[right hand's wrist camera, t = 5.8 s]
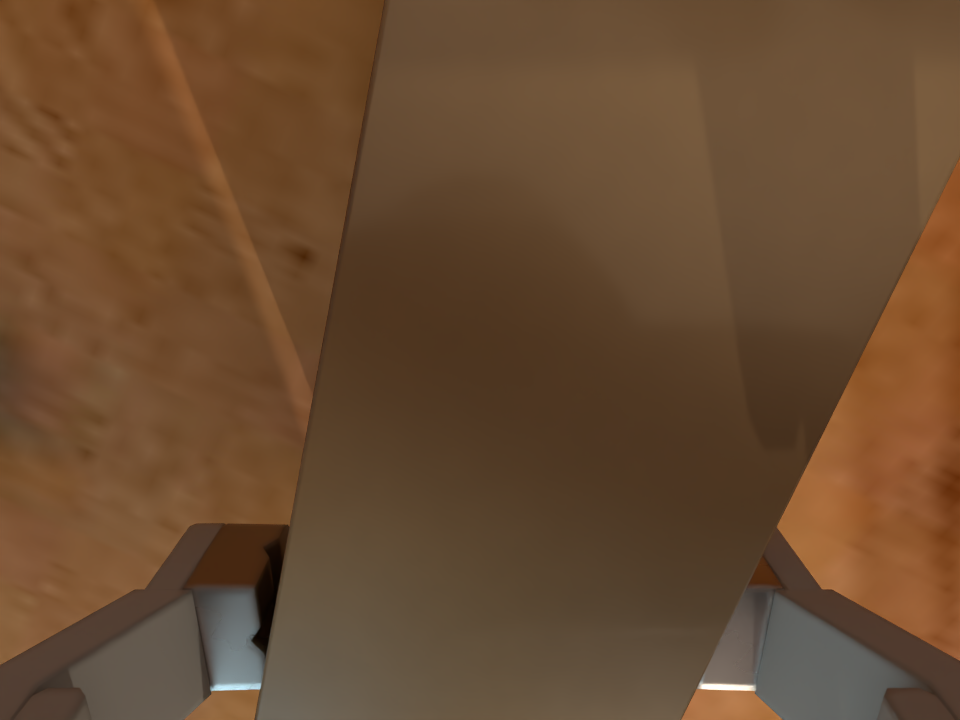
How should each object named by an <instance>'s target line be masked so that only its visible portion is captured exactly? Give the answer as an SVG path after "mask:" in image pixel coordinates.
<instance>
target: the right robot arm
mask: <svg viewBox="0 0 960 720" xmlns="http://www.w3.org/2000/svg"><path fill="white" fill-rule="evenodd" d="M288 532H289V526H288V525H273V524H224V523H197V524H194V525H192V526H190V527H189V528H188V529H187V531H186V532H185V533H184V535H183V536H182V538H181V539H180V540H179V542H178V543H177V545H176V546H175V548H174V549H173V550H172V552H171V553H170V555H169V556H168V557H167V559H166V560H165V562H164V563H163V564H162V566H161V567H160V569H159V570H158V572H157V573H156V574H155V576H154V577H153V579H152V580H151V581H150V583H149V584H148V586H147V587H146V588H145V590H133V591H132V592H130V593H128V594H126V595H124V596H123V597H121V598H119V599H117V600H116V601H114V602H112V603H110V604H108V605H107V606H105V607H103V608H101V609H99V610H98V611H96V612H94V613H92V614H91V615H89V616H87V617H85V618H83V619H82V620H80V621H78V622H76V623H75V624H73V625H71V626H69V627H67V628H66V629H64V630H62V631H60V632H59V633H57V634H55V635H53V636H51V637H50V638H48V639H46V640H44V641H43V642H41V643H39V644H37V645H35V646H34V647H32V648H30V649H28V650H26V651H25V652H23V653H21V654H19V655H18V656H16V657H14V658H12V659H10V660H9V661H7V662H5V663H3V664H2V665H0V720H184V719H185V718H186V717H187V716H188V715H189V714H190V713H191V712H193V711H194V710H195V709H196V708H197V707H198V706H199V705H200V704H201V703H202V702H203V701H204V700H205V699H206V698H207V697H209V696H210V695H211V691H215V690H250V689H260V687H261V681H262V676H263V670H264V664H265V659H266V653H267V648H268V642H269V637H270V631H271V626H272V620H273V615H274V609H275V604H276V598H277V593H278V587H279V582H280V576H281V571H282V565H283V559H284V554H285V548H286V543H287V537H288ZM697 689H715V690H751V691H755V694H756V695H757V696H758V697H759V698H760V699H761V700H762V701H764V702H765V703H766V704H767V705H768V706H769V707H770V708H771V709H772V710H773V711H774V712H775V713H776V714H778V715H779V716H780V717H781V718H782V719H783V720H960V661H959V660H957V659H955V658H953V657H952V656H950V655H948V654H946V653H945V652H943V651H941V650H939V649H937V648H936V647H934V646H932V645H930V644H928V643H927V642H925V641H923V640H921V639H919V638H918V637H916V636H914V635H912V634H910V633H909V632H907V631H905V630H903V629H902V628H900V627H898V626H896V625H894V624H893V623H891V622H889V621H887V620H885V619H884V618H882V617H880V616H878V615H876V614H875V613H873V612H871V611H869V610H867V609H866V608H864V607H862V606H860V605H859V604H857V603H855V602H853V601H851V600H850V599H848V598H846V597H844V596H842V595H841V594H839V593H837V592H835V591H833V590H822V589H821V588H820V586H819V585H818V583H817V582H816V581H815V579H814V578H813V577H812V575H811V574H810V572H809V571H808V570H807V568H806V567H805V566H804V564H803V563H802V561H801V560H800V559H799V557H798V556H797V555H796V553H795V552H794V550H793V549H792V548H791V546H790V545H789V544H788V542H787V541H786V540H785V538H784V537H783V535H782V534H781V533H780V531H779V530H778V529H777V527H776V529H775V531H774V533H773V535H772V537H771V539H770V541H769V543H768V545H767V547H766V549H765V551H764V553H763V555H762V557H761V559H760V561H759V563H758V565H757V568H756V570H755V572H754V574H753V576H752V578H751V580H750V582H749V584H748V586H747V588H746V590H745V592H744V594H743V596H742V598H741V600H740V602H739V604H738V606H737V608H736V610H735V612H734V614H733V616H732V618H731V620H730V622H729V624H728V626H727V628H726V630H725V632H724V634H723V636H722V638H721V640H720V642H719V644H718V646H717V648H716V650H715V652H714V654H713V656H712V658H711V660H710V662H709V664H708V666H707V668H706V671H705V673H704V675H703V677H702V679H701V681H700V683H699V685H698V687H697Z"/></svg>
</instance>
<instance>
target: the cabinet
mask: <svg viewBox="0 0 960 720" xmlns="http://www.w3.org/2000/svg"><path fill="white" fill-rule="evenodd" d="M959 157H960V0H385V1H384V7H383V12H382V18H381V23H380V29H379V34H378V40H377V45H376V51H375V57H374V62H373V68H372V73H371V79H370V84H369V90H368V95H367V101H366V106H365V112H364V117H363V123H362V128H361V134H360V139H359V145H358V150H357V156H356V162H355V167H354V173H353V178H352V184H351V189H350V195H349V200H348V206H347V211H346V217H345V222H344V228H343V233H342V239H341V244H340V250H339V255H338V261H337V267H336V272H335V278H334V283H333V289H332V294H331V300H330V305H329V311H328V316H327V322H326V327H325V333H324V338H323V344H322V349H321V355H320V360H319V366H318V372H317V377H316V383H315V388H314V394H313V399H312V405H311V410H310V416H309V421H308V427H307V432H306V438H305V443H304V449H303V454H302V460H301V466H300V471H299V477H298V482H297V488H296V493H295V499H294V504H293V510H292V515H291V521H290V526H289V532H288V537H287V543H286V548H285V554H284V559H283V565H282V571H281V576H280V582H279V587H278V593H277V598H276V604H275V609H274V615H273V620H272V626H271V631H270V637H269V642H268V648H267V653H266V659H265V664H264V670H263V676H262V681H261V687H260V692H259V698H258V703H257V709H256V714H255V720H681V719H682V717H683V715H684V713H685V711H686V709H687V707H688V705H689V703H690V701H691V699H692V697H693V695H694V693H695V691H696V689H697V687H698V685H699V683H700V681H701V679H702V677H703V675H704V673H705V671H706V668H707V666H708V664H709V662H710V660H711V658H712V656H713V654H714V652H715V650H716V648H717V646H718V644H719V642H720V640H721V638H722V636H723V634H724V632H725V630H726V628H727V626H728V624H729V622H730V620H731V618H732V616H733V614H734V612H735V610H736V608H737V606H738V604H739V602H740V600H741V598H742V596H743V594H744V592H745V590H746V588H747V586H748V584H749V582H750V580H751V578H752V576H753V574H754V572H755V570H756V568H757V565H758V563H759V561H760V559H761V557H762V555H763V553H764V551H765V549H766V547H767V545H768V543H769V541H770V539H771V537H772V535H773V533H774V531H775V529H776V527H777V525H778V523H779V521H780V519H781V517H782V515H783V513H784V511H785V509H786V507H787V505H788V503H789V501H790V499H791V497H792V495H793V493H794V491H795V489H796V487H797V485H798V483H799V481H800V479H801V477H802V475H803V473H804V471H805V469H806V467H807V464H808V462H809V460H810V458H811V456H812V454H813V452H814V450H815V448H816V446H817V444H818V442H819V440H820V438H821V436H822V434H823V432H824V430H825V428H826V426H827V424H828V422H829V420H830V418H831V416H832V414H833V412H834V410H835V408H836V406H837V404H838V402H839V400H840V398H841V396H842V394H843V392H844V390H845V388H846V386H847V384H848V382H849V380H850V378H851V376H852V374H853V372H854V370H855V368H856V366H857V364H858V361H859V359H860V357H861V355H862V353H863V351H864V349H865V347H866V345H867V343H868V341H869V339H870V337H871V335H872V333H873V331H874V329H875V327H876V325H877V323H878V321H879V319H880V317H881V315H882V313H883V311H884V309H885V307H886V305H887V303H888V301H889V299H890V297H891V295H892V293H893V291H894V289H895V287H896V285H897V283H898V281H899V279H900V277H901V275H902V273H903V271H904V269H905V267H906V265H907V263H908V260H909V258H910V256H911V254H912V252H913V250H914V248H915V246H916V244H917V242H918V240H919V238H920V236H921V234H922V232H923V230H924V228H925V226H926V224H927V222H928V220H929V218H930V216H931V214H932V212H933V210H934V208H935V206H936V204H937V202H938V200H939V198H940V196H941V194H942V192H943V190H944V188H945V186H946V184H947V182H948V180H949V178H950V176H951V174H952V172H953V170H954V168H955V166H956V164H957V162H958V160H959Z"/></svg>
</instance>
